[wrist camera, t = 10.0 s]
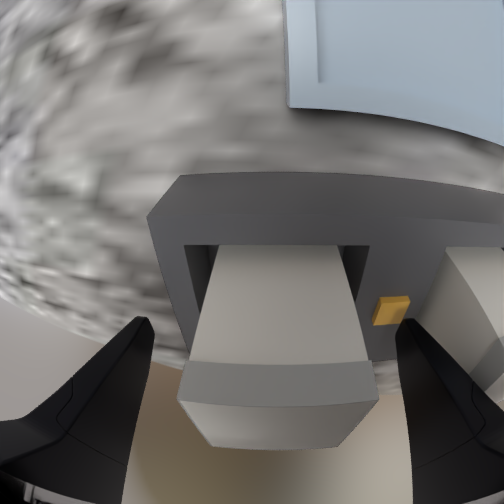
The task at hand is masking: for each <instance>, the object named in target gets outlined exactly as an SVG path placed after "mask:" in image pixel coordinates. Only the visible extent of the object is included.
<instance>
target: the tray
mask: <svg viewBox="0 0 504 504" xmlns="http://www.w3.org/2000/svg"><path fill="white" fill-rule="evenodd" d="M282 6H283V23H284V44H285V72H286V103H287V104H288V106H289V107H290V108H314V109H330V110H343V111H353V112H362V113H370V114H377V115H384V116H390V117H396V118H402V119H407V120H413V121H417V122H422V123H427V124H431V125H435V126H440V127H444V128H448V129H451V130H455V131H459V132H462V133H466V134H469V135H472V136H475V137H479V138H482V139H485V140H488V141H490V142H493V143H496V144H499V145H502V146H504V0H282Z"/></svg>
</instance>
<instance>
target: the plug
mask: <svg viewBox="0 0 504 504" xmlns="http://www.w3.org/2000/svg"><path fill="white" fill-rule="evenodd" d="M177 400H178V402H179V403H180V405H181V406H182V407H183V409H184V411H185V412H186V414H187V415H188V416H189V418H190V419H191V420H192V422H193V423H194V425H195V426H196V427H197V429H198V430H199V431H200V432H201V434H202V435H203V437H204V438H205V439H206V440H207V442H208V443H209V444H210V445H211V446H215V447H224V448H236V449H252V450H253V449H254V450H302V449H319V448H332V447H338V446H339V445H340V443H342V441H343V440H344V439H345V438H346V437H347V436H348V435H349V434H350V433H351V432H352V431H353V430H354V428H355V427H356V426H357V425H358V424H359V423H360V422H361V421H362V419H363V418H364V417H365V416H366V415H367V414H368V412H369V411H370V410H371V409H372V408H373V406H374V405H375V404H376V403H377V401H378V400H379V395H378V389H377V384H376V380H375V375H374V370H373V366H372V361H371V360H368V356H367V352H366V348H365V343H364V339H363V335H362V331H361V327H360V323H359V319H358V315H357V311H356V308H355V304H354V300H353V297H352V293H351V290H350V286H349V283H348V279H347V276H346V273H345V269H344V266H343V263H342V260H341V257H340V253H339V250H338V247H337V245H219V248H218V252H217V255H216V259H215V262H214V266H213V270H212V273H211V277H210V281H209V284H208V288H207V292H206V295H205V299H204V303H203V307H202V310H201V314H200V318H199V322H198V326H197V330H196V334H195V337H194V341H193V345H192V349H191V354H190V358H189V360H186V362H185V366H184V370H183V374H182V378H181V382H180V387H179V391H178V395H177Z"/></svg>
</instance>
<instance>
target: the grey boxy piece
mask: <svg viewBox="0 0 504 504" xmlns="http://www.w3.org/2000/svg"><path fill="white" fill-rule="evenodd" d="M147 221H148V225H149V229H150V233H151V237H152V240H153V244H154V248H155V251H156V255H157V258H158V262H159V265H160V269H161V272H162V275H163V279H164V282H165V285H166V288H167V291H168V294H169V297H170V300H171V304H172V306H173V309H174V312H175V315H176V318H177V321H178V324H179V327H180V329H181V332H182V335H183V338H184V340H185V343H186V346H187V348H188V351H189V353H190V354H191V349H192V345H193V341H194V337H195V334H196V330H197V326H198V322H199V318H200V314H201V310H202V307H203V303H204V299H205V295H206V292H207V288H208V284H209V281H210V277H211V273H212V270H213V266H214V262H215V259H216V255H217V252H218V248H219V245H337V247H338V250H339V253H340V257H341V260H342V263H343V266H344V269H345V273H346V276H347V279H348V283H349V286H350V290H351V293H352V297H353V300H354V304H355V308H356V311H357V315H358V319H359V323H360V327H361V331H362V335H363V339H364V343H365V348H366V352H367V356H368V360H371V361H372V362H375V361H384V360H392V359H397V352H396V343H395V334H396V331H397V329H398V327H399V325H400V323H401V321H402V320H403V319H404V318H414V319H415V320H416V321H417V322H418V323H419V324H420V325H421V326H422V327H423V328H424V329H425V330H426V331H427V332H428V333H429V334H430V335H431V336H432V337H433V338H434V339H435V340H436V341H437V342H438V343H439V344H440V345H441V346H442V347H443V348H444V349H445V350H446V351H447V352H448V353H449V354H450V355H451V356H452V357H453V358H454V359H455V361H456V362H457V363H458V364H459V365H460V366H461V367H462V368H463V369H464V370H465V371H466V372H467V373H468V375H469V376H470V377H471V378H472V379H473V380H474V381H475V382H476V383H477V385H478V386H479V387H480V388H481V389H482V390H483V391H484V392H485V393H486V394H487V395H488V396H489V397H490V398H491V399H492V400H493V401H494V402H495V403H496V404H497V403H499V402H501V401H503V400H504V194H500V193H495V192H490V191H485V190H480V189H474V188H469V187H463V186H457V185H450V184H443V183H436V182H429V181H421V180H413V179H403V178H394V177H383V176H370V175H356V174H338V173H312V172H239V173H213V174H195V175H180V176H179V177H178V179H177V180H176V181H175V182H174V183H173V184H172V186H171V187H170V188H169V189H168V190H167V192H166V193H165V194H164V195H163V197H162V198H161V199H160V200H159V202H158V203H157V204H156V205H155V207H154V208H153V209H152V210H151V212H150V213H149V214H148V215H147Z"/></svg>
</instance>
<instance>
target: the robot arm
mask: <svg viewBox="0 0 504 504" xmlns="http://www.w3.org/2000/svg"><path fill="white" fill-rule="evenodd" d="M154 338H155V333H154V330H153V328H152V325H151V323H150V321H149V319H148V318H147V317H141V316H137V317H135V318H134V319H133V320H132V321H131V322H130V323H129V324H128V325H126V326H125V327H124V328H123V329H122V330H121V331H120V332H119V333H118V334H117V335H116V336H114V337H113V338H112V339H111V340H110V341H109V342H108V343H107V344H106V345H105V346H104V347H103V348H102V349H101V350H99V351H98V352H97V353H96V354H95V355H94V356H93V357H92V358H91V359H90V360H89V361H88V362H87V363H86V364H85V365H84V366H83V367H82V368H80V369H79V370H78V371H77V372H76V373H75V374H74V375H73V377H71V378H70V379H69V380H68V381H67V382H66V383H65V384H64V385H63V386H61V387H60V388H59V389H58V390H57V391H56V392H55V393H54V394H52V395H51V396H50V397H49V398H48V399H46V400H45V401H44V402H43V403H42V404H40V405H39V406H38V407H36V408H35V409H34V410H33V411H31V412H30V413H29V414H27V415H26V416H24V417H22V418H19V419H15V420H7V421H0V504H121V501H122V495H123V489H124V483H125V477H126V472H127V465H128V460H129V455H130V450H131V445H132V441H133V436H134V432H135V427H136V422H137V418H138V414H139V410H140V406H141V401H142V397H143V394H144V390H145V386H146V382H147V378H148V374H149V369H150V363H151V356H152V350H153V344H154ZM395 343H396V352H397V361H398V371H399V378H400V384H401V389H402V394H403V400H404V406H405V412H406V418H407V426H408V434H409V443H410V453H411V465H412V482H413V483H412V484H413V504H504V411H503V410H502V409H501V408H500V407H499V406H498V405H497V404H496V403H495V402H494V401H493V400H492V399H491V398H490V397H489V396H488V395H487V394H486V393H485V392H484V391H483V390H482V389H481V388H480V387H479V386H478V385H477V383H476V382H475V381H474V380H473V379H472V378H471V377H470V376H469V375H468V373H467V372H466V371H465V370H464V369H463V368H462V367H461V366H460V365H459V364H458V363H457V362H456V361H455V359H454V358H453V357H452V356H451V355H450V354H449V353H448V352H447V351H446V350H445V349H444V348H443V347H442V346H441V345H440V344H439V343H438V342H437V341H436V340H435V339H434V338H433V337H432V336H431V335H430V334H429V333H428V332H427V331H426V330H425V329H424V328H423V327H422V326H421V325H420V324H419V323H418V322H417V321H416V320H415V319H414V318H404V319H403V320H402V321H401V323H400V325H399V327H398V329H397V331H396V334H395Z"/></svg>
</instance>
